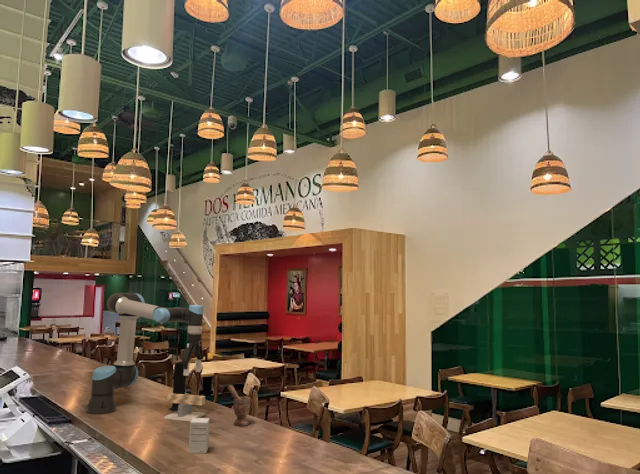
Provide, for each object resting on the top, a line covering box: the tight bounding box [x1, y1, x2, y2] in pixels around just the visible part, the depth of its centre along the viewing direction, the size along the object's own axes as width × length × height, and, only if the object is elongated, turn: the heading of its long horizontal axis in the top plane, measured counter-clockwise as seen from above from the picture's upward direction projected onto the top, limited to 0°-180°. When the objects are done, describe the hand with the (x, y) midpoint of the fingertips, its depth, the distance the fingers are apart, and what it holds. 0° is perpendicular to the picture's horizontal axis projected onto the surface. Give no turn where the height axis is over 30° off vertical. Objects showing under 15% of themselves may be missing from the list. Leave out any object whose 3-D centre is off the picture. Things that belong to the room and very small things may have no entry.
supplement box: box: [188, 417, 210, 455], centre depth 209 cm, size 7×7×13 cm
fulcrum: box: [163, 404, 205, 422], centre depth 264 cm, size 16×14×7 cm
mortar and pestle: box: [227, 384, 252, 427], centre depth 252 cm, size 12×9×20 cm
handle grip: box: [168, 361, 187, 412], centre depth 283 cm, size 10×26×10 cm
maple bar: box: [166, 392, 206, 406], centre depth 265 cm, size 20×4×4 cm, turn 77°
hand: (192, 373), depth 266 cm, fingers open, 13 cm apart
